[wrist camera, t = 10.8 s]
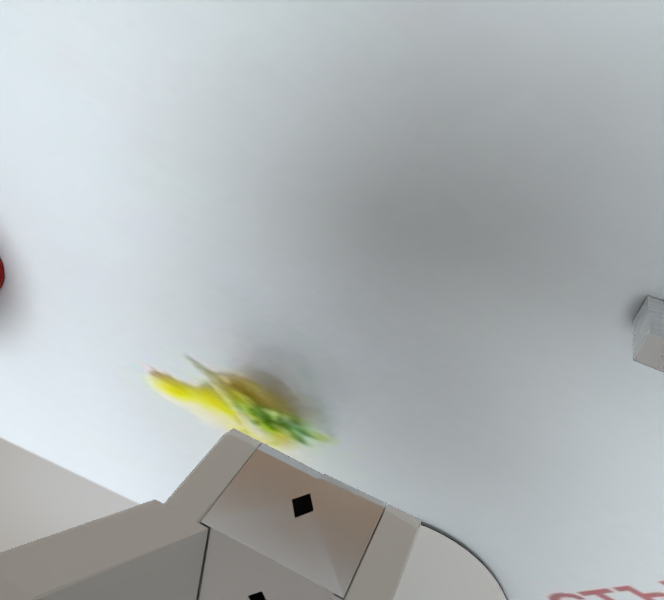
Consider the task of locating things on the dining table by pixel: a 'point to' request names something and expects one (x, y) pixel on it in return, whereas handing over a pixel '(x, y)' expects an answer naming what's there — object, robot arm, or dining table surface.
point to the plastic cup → (1, 274)
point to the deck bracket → (649, 334)
